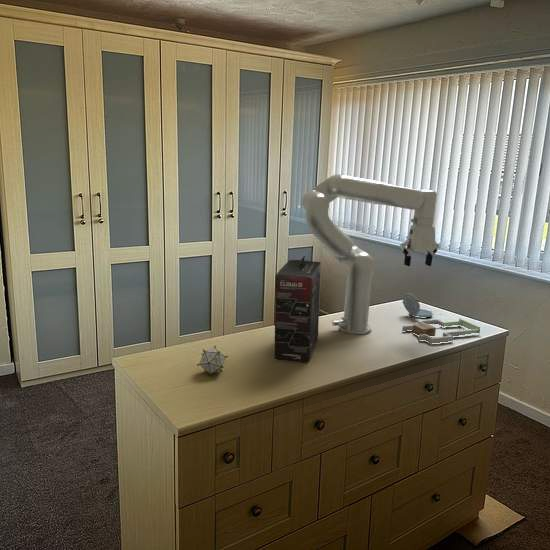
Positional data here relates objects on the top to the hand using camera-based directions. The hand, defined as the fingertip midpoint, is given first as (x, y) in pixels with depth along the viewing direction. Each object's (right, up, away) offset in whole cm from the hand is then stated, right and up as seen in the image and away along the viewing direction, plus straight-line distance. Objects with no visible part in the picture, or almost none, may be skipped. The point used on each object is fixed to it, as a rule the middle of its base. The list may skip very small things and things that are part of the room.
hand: (417, 265), depth 202 cm
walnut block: (+2, -28, -2) cm, 28 cm away
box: (+9, -27, +1) cm, 28 cm away
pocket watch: (+8, -22, +24) cm, 33 cm away
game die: (-76, -34, -43) cm, 94 cm away
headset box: (-49, -30, -21) cm, 61 cm away
